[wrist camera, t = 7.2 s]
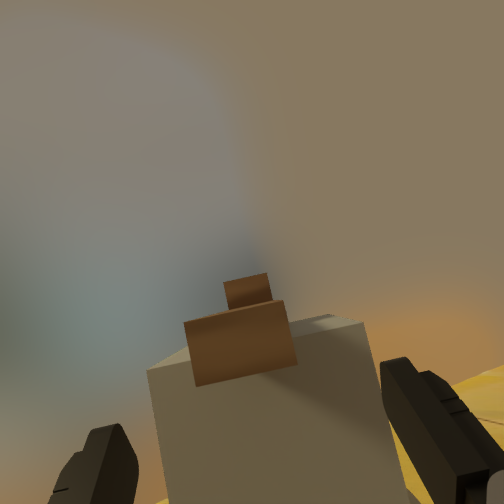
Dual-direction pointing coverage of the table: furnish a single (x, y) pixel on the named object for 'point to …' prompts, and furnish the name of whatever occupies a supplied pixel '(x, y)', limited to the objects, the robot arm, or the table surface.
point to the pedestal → (281, 427)
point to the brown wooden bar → (241, 335)
